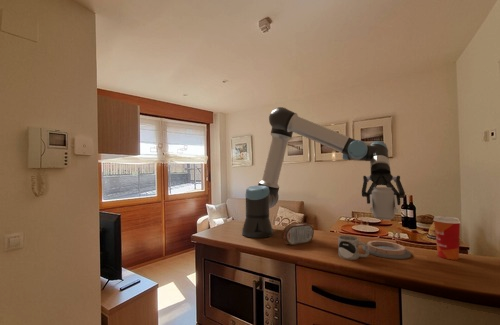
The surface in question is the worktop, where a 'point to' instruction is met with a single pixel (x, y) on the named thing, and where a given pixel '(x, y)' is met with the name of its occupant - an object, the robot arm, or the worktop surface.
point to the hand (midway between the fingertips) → (383, 210)
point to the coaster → (407, 255)
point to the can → (383, 203)
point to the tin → (298, 233)
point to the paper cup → (447, 236)
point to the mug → (350, 248)
